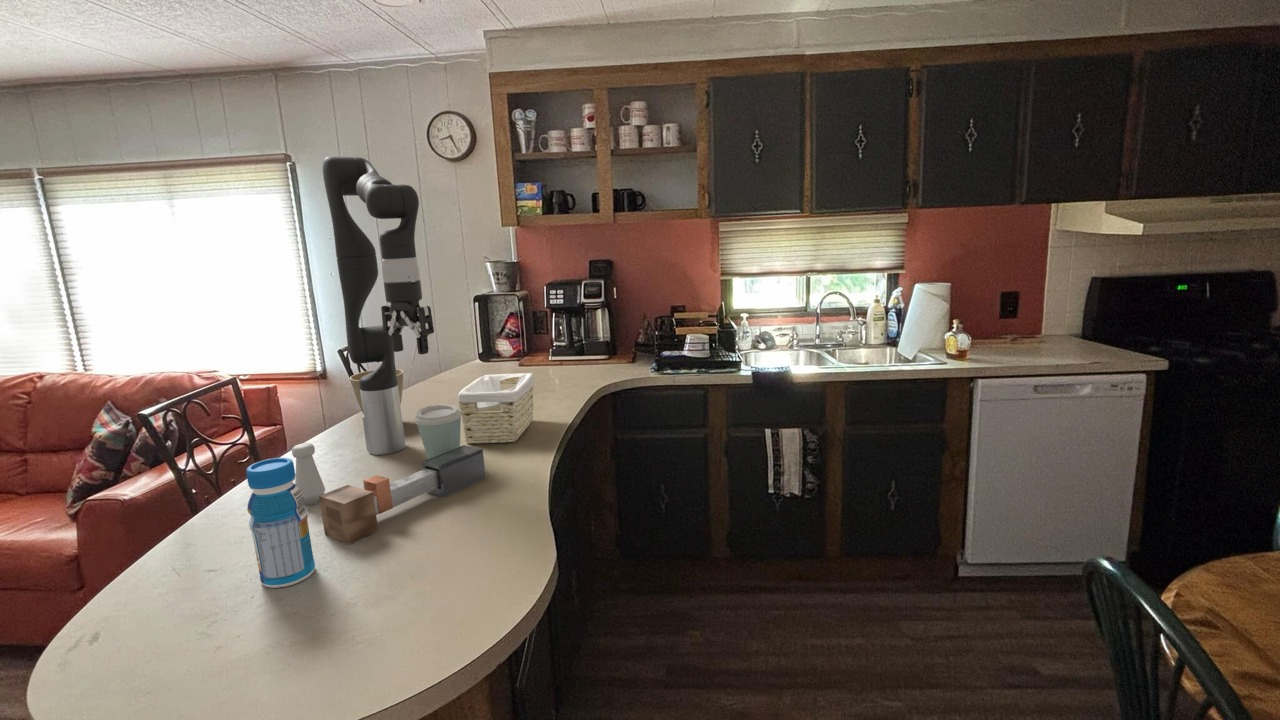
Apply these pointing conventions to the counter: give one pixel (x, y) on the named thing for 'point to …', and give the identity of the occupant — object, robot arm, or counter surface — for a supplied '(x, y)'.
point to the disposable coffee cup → (439, 428)
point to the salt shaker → (307, 474)
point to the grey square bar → (401, 488)
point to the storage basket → (497, 408)
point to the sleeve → (457, 469)
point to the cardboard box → (348, 513)
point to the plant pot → (357, 377)
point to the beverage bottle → (279, 523)
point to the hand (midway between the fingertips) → (410, 352)
